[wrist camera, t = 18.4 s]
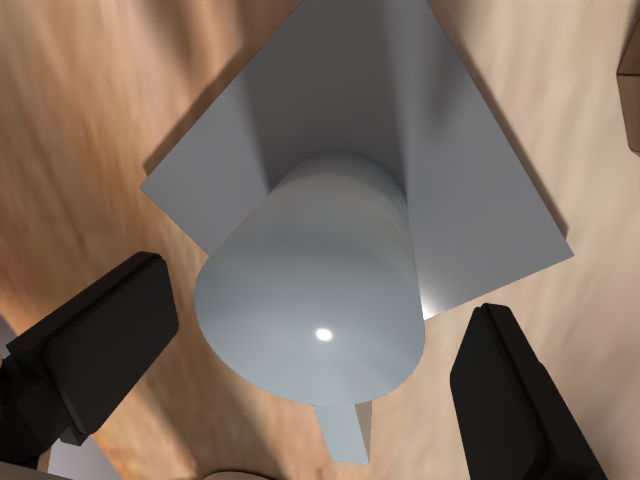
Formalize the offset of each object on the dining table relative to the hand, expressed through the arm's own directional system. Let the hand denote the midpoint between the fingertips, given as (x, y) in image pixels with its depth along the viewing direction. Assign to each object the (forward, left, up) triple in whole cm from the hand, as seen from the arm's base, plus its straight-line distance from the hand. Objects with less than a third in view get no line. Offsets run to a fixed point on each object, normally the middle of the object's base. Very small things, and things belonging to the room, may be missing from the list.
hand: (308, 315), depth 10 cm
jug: (0, -1, -6) cm, 6 cm away
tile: (0, +1, -7) cm, 6 cm away
